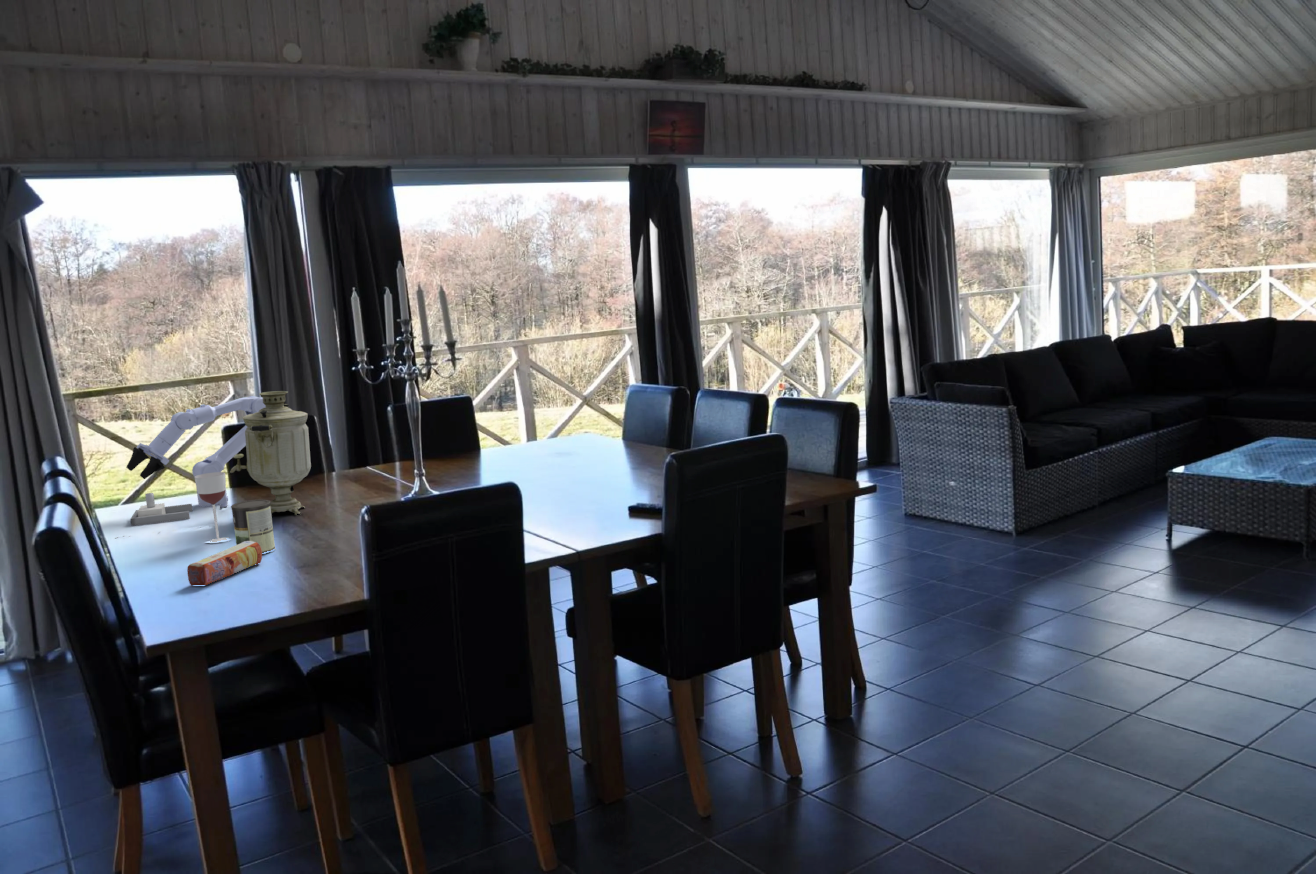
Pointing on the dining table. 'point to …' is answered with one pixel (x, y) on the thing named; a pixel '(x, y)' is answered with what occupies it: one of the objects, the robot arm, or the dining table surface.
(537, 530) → the dining table surface
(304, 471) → the samovar
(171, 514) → the bay
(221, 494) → the wineglass
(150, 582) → the dining table surface
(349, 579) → the dining table surface
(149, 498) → the peg on square base
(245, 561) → the snack package
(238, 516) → the coffee can
